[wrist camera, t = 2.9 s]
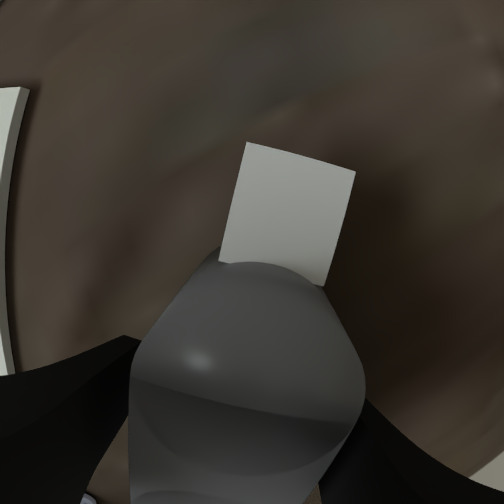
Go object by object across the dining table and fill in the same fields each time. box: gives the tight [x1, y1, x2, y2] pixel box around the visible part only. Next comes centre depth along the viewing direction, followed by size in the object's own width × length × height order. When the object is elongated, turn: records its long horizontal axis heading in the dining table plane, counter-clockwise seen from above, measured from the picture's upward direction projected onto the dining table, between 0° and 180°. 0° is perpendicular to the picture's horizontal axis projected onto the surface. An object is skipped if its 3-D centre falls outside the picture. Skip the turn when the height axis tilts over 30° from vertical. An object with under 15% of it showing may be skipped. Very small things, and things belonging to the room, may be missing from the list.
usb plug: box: [128, 142, 366, 504], centre depth 7 cm, size 11×4×5 cm, turn 166°
